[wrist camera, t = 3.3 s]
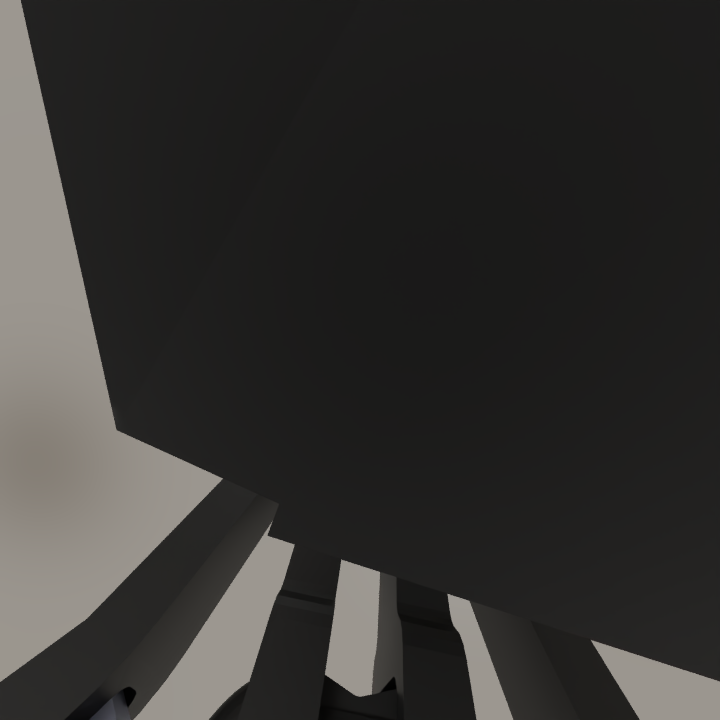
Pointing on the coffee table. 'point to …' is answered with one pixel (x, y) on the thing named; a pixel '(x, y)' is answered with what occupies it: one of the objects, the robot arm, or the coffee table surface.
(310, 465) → the electrical component
